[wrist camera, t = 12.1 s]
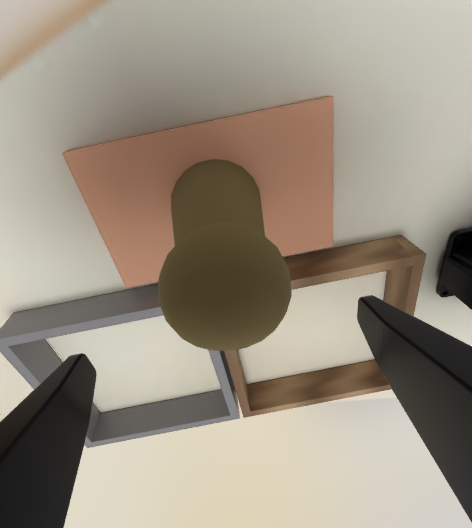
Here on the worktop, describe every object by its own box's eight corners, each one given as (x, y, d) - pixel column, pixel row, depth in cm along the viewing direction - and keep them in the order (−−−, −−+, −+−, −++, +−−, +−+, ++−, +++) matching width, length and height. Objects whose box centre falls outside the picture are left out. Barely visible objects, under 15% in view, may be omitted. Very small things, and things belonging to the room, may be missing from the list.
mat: (328, 96, 17) (333, 96, 17) (328, 241, 23) (332, 246, 22) (67, 150, 18) (62, 153, 17) (128, 282, 23) (126, 288, 22)
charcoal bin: (203, 274, 23) (202, 298, 21) (237, 391, 31) (239, 418, 29) (13, 313, 23) (-10, 340, 21) (96, 418, 32) (87, 447, 29)
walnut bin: (401, 234, 23) (425, 253, 20) (382, 363, 31) (398, 387, 29) (208, 273, 23) (208, 297, 21) (240, 390, 31) (243, 417, 29)
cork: (180, 146, 17) (152, 219, 8) (274, 173, 19) (344, 262, 9) (163, 235, 20) (128, 365, 11) (245, 253, 22) (277, 381, 12)
